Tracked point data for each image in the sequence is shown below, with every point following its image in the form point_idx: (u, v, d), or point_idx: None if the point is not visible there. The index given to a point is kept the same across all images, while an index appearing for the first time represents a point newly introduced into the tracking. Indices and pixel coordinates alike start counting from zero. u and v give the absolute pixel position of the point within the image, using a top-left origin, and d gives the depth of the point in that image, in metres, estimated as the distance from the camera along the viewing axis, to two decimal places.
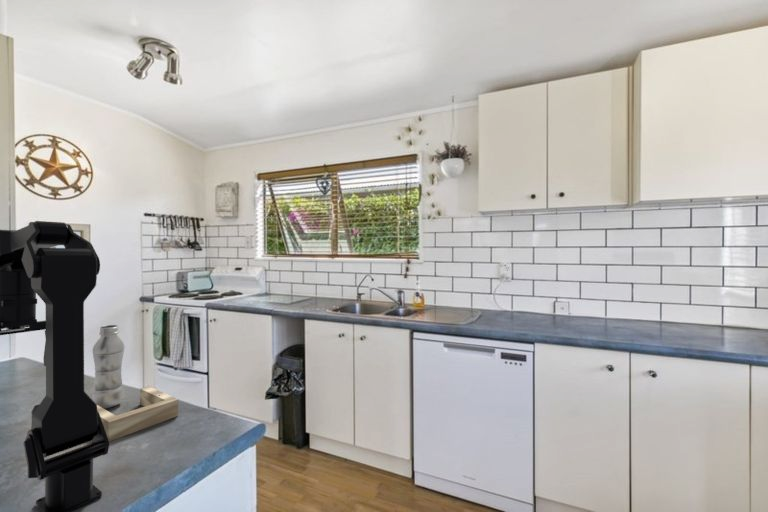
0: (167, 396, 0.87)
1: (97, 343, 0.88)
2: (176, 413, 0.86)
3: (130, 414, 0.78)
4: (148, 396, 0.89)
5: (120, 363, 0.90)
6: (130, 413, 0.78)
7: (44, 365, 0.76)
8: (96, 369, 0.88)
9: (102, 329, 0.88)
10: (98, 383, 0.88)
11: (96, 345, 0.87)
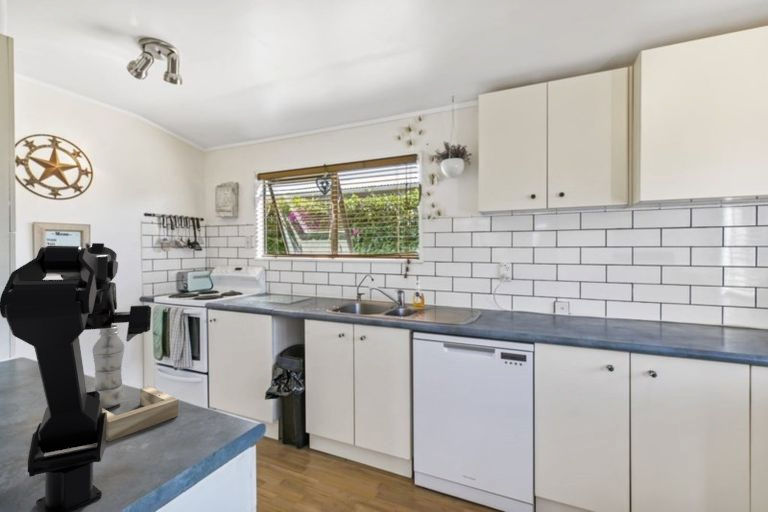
0: (167, 396, 0.87)
1: (97, 343, 0.88)
2: (176, 413, 0.86)
3: (130, 414, 0.78)
4: (148, 396, 0.89)
5: (120, 363, 0.90)
6: (130, 413, 0.78)
7: None
8: (96, 369, 0.88)
9: (102, 329, 0.88)
10: (98, 383, 0.88)
11: (96, 345, 0.87)
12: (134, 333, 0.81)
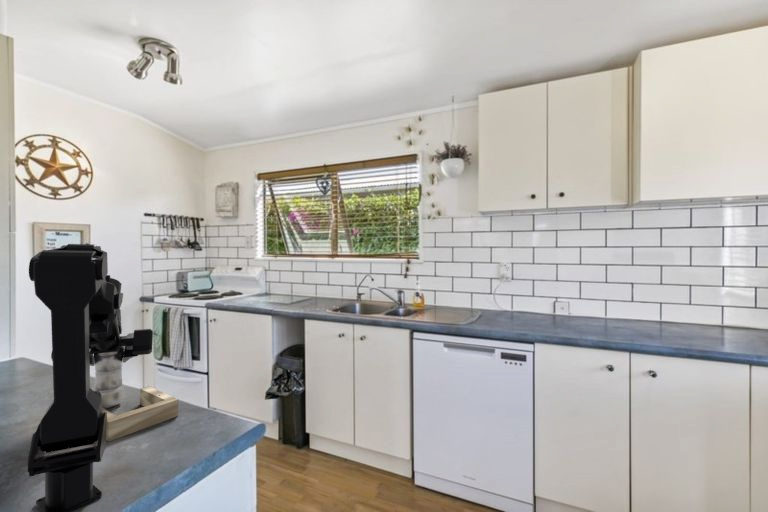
0: (167, 396, 0.87)
1: None
2: (176, 413, 0.86)
3: (130, 414, 0.78)
4: (148, 396, 0.89)
5: (120, 363, 0.90)
6: (130, 413, 0.78)
7: None
8: (96, 369, 0.88)
9: None
10: (98, 383, 0.88)
11: None
12: (130, 356, 0.88)
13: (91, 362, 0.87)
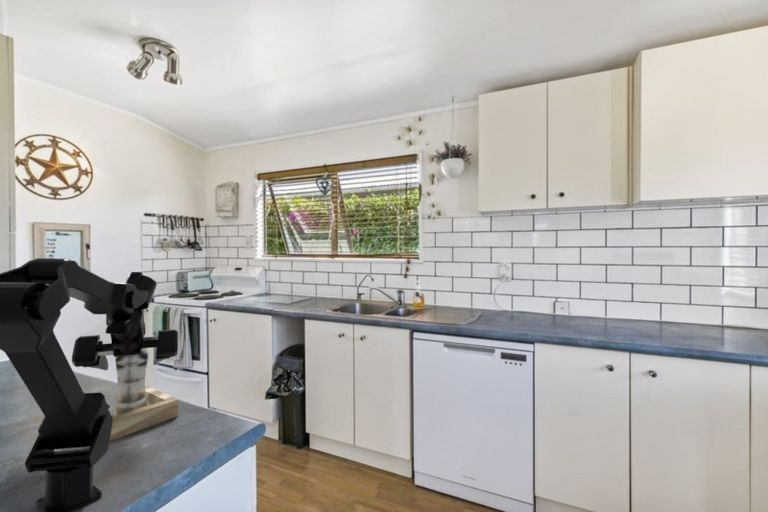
0: (167, 396, 0.87)
1: None
2: (176, 413, 0.86)
3: (130, 414, 0.78)
4: (148, 396, 0.89)
5: (144, 373, 0.84)
6: (130, 413, 0.78)
7: None
8: (119, 379, 0.81)
9: None
10: (121, 394, 0.81)
11: None
12: (162, 358, 0.82)
13: (104, 366, 0.80)
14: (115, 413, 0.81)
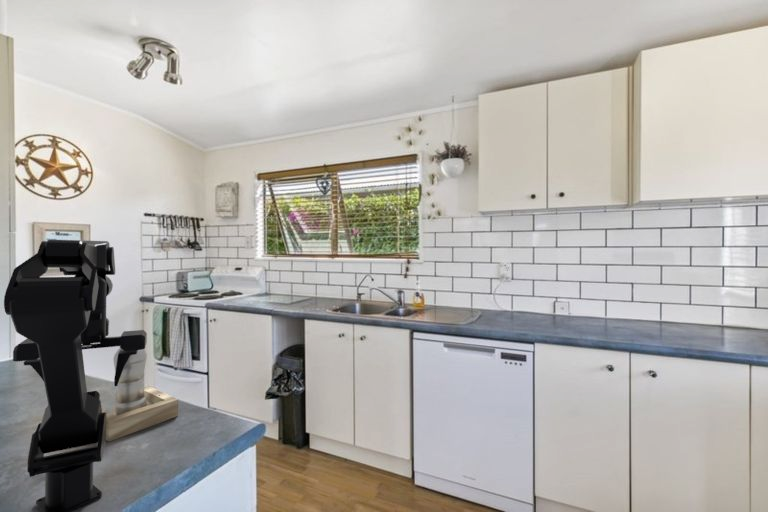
0: (167, 396, 0.87)
1: None
2: (176, 413, 0.86)
3: (130, 414, 0.78)
4: (148, 396, 0.89)
5: (143, 372, 0.84)
6: (130, 413, 0.78)
7: None
8: None
9: None
10: (120, 395, 0.81)
11: None
12: (126, 353, 0.69)
13: None
14: (115, 413, 0.81)
